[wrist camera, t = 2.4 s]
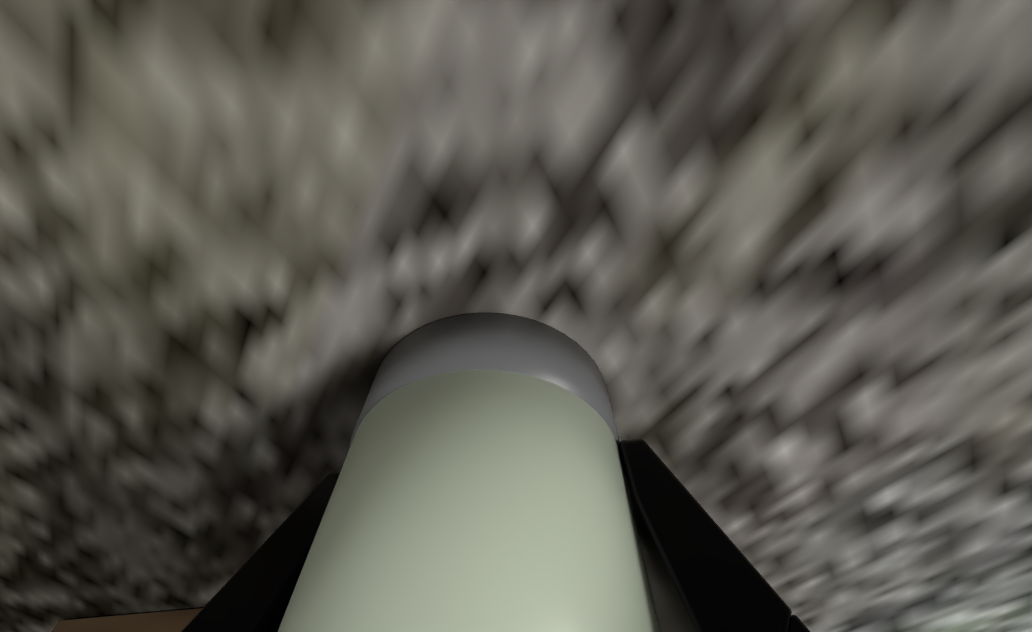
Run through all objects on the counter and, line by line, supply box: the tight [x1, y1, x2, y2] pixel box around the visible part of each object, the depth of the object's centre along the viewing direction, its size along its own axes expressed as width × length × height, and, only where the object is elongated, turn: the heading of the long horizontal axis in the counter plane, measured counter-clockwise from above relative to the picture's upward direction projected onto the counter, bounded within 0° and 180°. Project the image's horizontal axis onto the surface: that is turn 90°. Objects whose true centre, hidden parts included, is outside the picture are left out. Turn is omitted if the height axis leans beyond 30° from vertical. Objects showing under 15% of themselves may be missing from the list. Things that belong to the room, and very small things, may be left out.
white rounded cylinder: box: [278, 313, 661, 632], centre depth 7 cm, size 5×5×7 cm
